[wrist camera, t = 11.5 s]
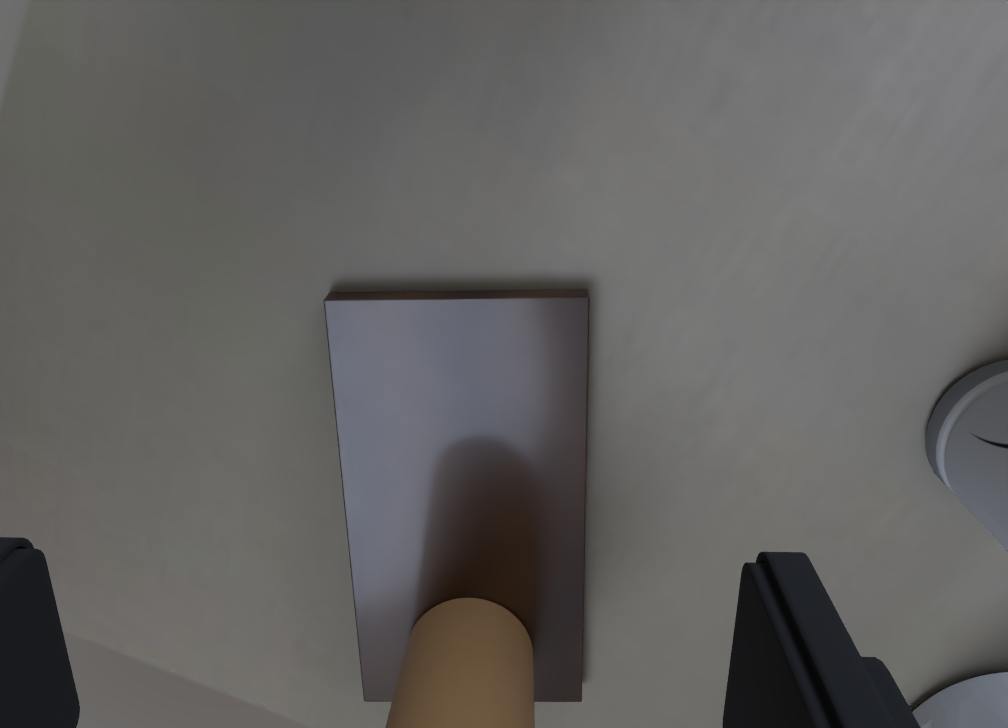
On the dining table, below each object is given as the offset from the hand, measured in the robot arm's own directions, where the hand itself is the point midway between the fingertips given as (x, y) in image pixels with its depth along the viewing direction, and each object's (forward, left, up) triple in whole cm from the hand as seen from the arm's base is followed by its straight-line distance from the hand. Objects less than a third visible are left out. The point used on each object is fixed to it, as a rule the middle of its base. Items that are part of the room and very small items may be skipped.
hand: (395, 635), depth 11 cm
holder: (-1, -11, -22) cm, 25 cm away
